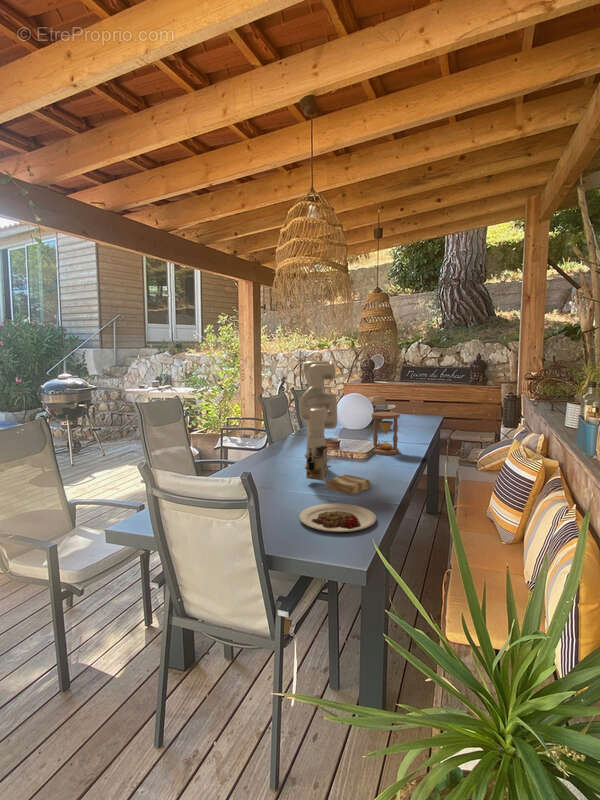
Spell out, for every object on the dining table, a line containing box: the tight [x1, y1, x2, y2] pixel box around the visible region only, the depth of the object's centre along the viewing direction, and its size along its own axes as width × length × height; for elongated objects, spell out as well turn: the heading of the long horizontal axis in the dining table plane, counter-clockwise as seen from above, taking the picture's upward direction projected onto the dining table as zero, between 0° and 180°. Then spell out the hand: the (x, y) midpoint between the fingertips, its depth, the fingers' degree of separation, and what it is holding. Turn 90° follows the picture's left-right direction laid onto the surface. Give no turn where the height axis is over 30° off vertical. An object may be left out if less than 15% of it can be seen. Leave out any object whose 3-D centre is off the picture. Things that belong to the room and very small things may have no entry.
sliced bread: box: [325, 474, 371, 496], centre depth 228 cm, size 15×15×4 cm
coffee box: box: [305, 445, 328, 482], centre depth 235 cm, size 9×6×16 cm
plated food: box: [299, 503, 377, 533], centre depth 186 cm, size 30×30×3 cm
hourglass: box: [371, 411, 400, 456], centre depth 304 cm, size 18×18×25 cm
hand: (316, 467), depth 235 cm, fingers closed on coffee box, 7 cm apart
